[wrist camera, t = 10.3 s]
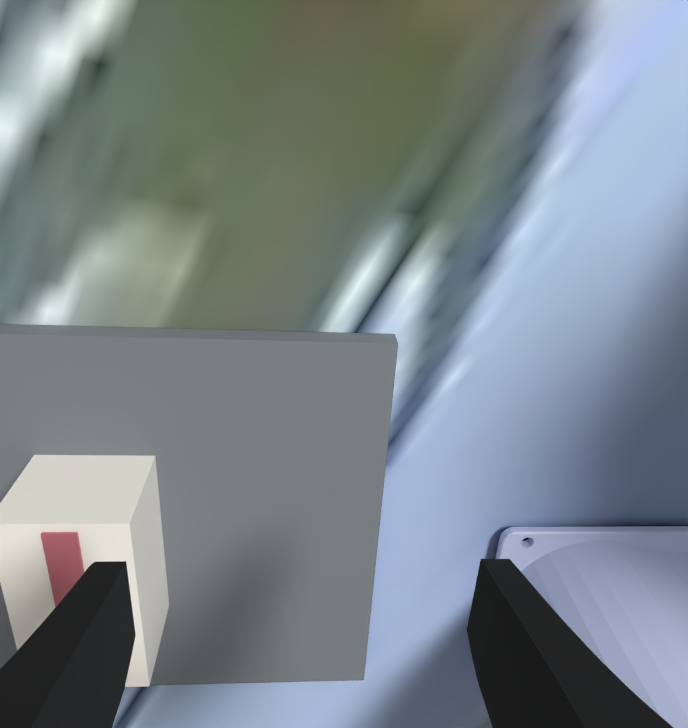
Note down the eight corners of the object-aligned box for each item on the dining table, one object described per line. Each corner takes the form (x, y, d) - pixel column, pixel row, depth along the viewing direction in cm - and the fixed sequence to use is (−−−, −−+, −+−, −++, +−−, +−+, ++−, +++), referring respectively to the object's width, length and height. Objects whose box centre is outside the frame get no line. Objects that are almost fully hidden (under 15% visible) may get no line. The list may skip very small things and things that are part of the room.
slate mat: (394, 333, 20) (398, 343, 20) (362, 664, 27) (363, 679, 26) (-250, 317, 19) (-272, 327, 18) (-112, 674, 25) (-124, 691, 25)
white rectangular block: (169, 605, 24) (148, 689, 20) (63, 606, 23) (25, 692, 20) (155, 455, 21) (128, 526, 17) (33, 454, 20) (-17, 526, 17)
